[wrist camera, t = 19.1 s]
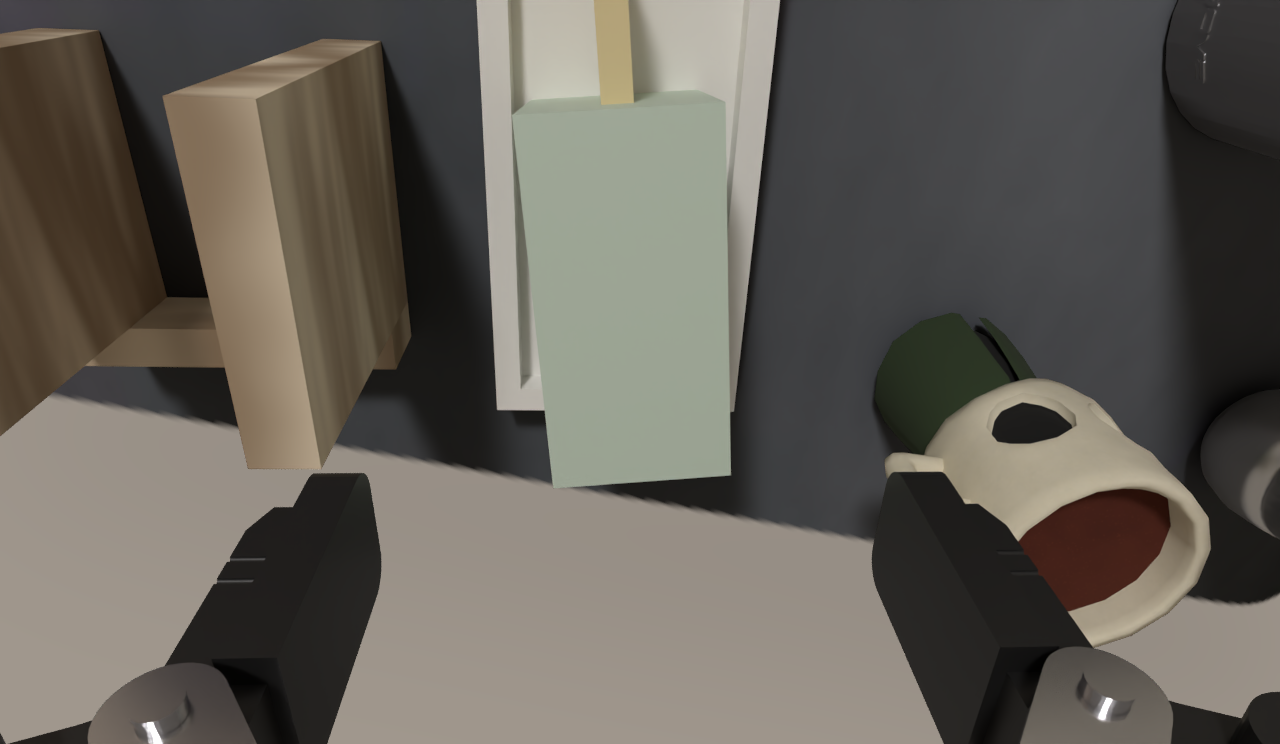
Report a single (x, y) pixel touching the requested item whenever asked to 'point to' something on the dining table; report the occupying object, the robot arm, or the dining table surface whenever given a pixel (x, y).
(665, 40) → the tray
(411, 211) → the dining table surface
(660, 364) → the green block with tab
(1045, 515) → the character mug
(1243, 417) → the plastic bottle
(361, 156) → the bay
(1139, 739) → the robot arm
